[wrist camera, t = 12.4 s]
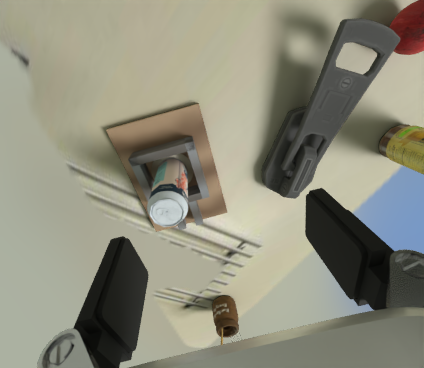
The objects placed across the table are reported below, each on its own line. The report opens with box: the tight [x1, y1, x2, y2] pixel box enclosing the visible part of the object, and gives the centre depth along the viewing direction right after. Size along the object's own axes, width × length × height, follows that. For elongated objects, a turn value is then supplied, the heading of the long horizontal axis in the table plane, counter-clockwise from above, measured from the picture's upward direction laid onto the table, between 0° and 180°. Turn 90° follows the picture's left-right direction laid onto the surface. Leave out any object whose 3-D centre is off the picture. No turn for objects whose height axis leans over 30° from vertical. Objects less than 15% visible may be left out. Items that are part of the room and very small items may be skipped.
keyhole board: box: [106, 103, 227, 232], centre depth 35 cm, size 20×14×4 cm
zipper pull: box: [262, 19, 400, 198], centre depth 32 cm, size 9×7×25 cm
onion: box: [389, 0, 424, 55], centre depth 26 cm, size 6×6×8 cm
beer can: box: [147, 158, 188, 227], centre depth 29 cm, size 5×5×12 cm
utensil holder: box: [212, 296, 239, 345], centre depth 49 cm, size 6×6×12 cm
